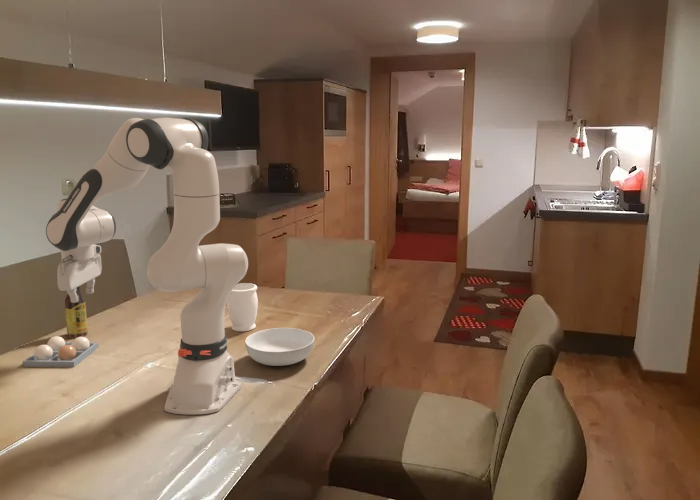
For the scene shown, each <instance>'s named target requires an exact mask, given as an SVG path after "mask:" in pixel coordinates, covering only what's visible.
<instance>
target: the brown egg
mask: <svg viewBox="0 0 700 500" xmlns="http://www.w3.org/2000/svg"><path fill="white" fill-rule="evenodd" d="M75 356H76V349H75V348H74V347H73V346H71V345H64V346H62V347H61V348H60V349H59V350H58V358H59V359H60V360H61V361H71V360H73V359H74V358H75Z"/></svg>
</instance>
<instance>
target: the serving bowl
mask: <svg viewBox="0 0 700 500" xmlns="http://www.w3.org/2000/svg"><path fill="white" fill-rule="evenodd" d="M244 340H245V341H244V345H245V348H246V351H247V354H248V355H249V356H250V358H251V359H252V360H254V361H255V362H257V363H259V364H261V365H266V366H272V367H274V366H275V367H278V366H279V367H282V366H283V367H284V366H290V365H293V364H296V363H299V362H301V361H303V360H305V359H306V358H307V357H309V355H310V354H311V353H312V351H313V349H314V345H315V341H316V340H315V336H314V334H313V333H312V332H310V331H307V330H305V329H301V328H294V327H275V328H267V329H262V330H258V331H256V332H254V333H251V334H249V335H248V336H247V337H246V338H245V339H244Z"/></svg>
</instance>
